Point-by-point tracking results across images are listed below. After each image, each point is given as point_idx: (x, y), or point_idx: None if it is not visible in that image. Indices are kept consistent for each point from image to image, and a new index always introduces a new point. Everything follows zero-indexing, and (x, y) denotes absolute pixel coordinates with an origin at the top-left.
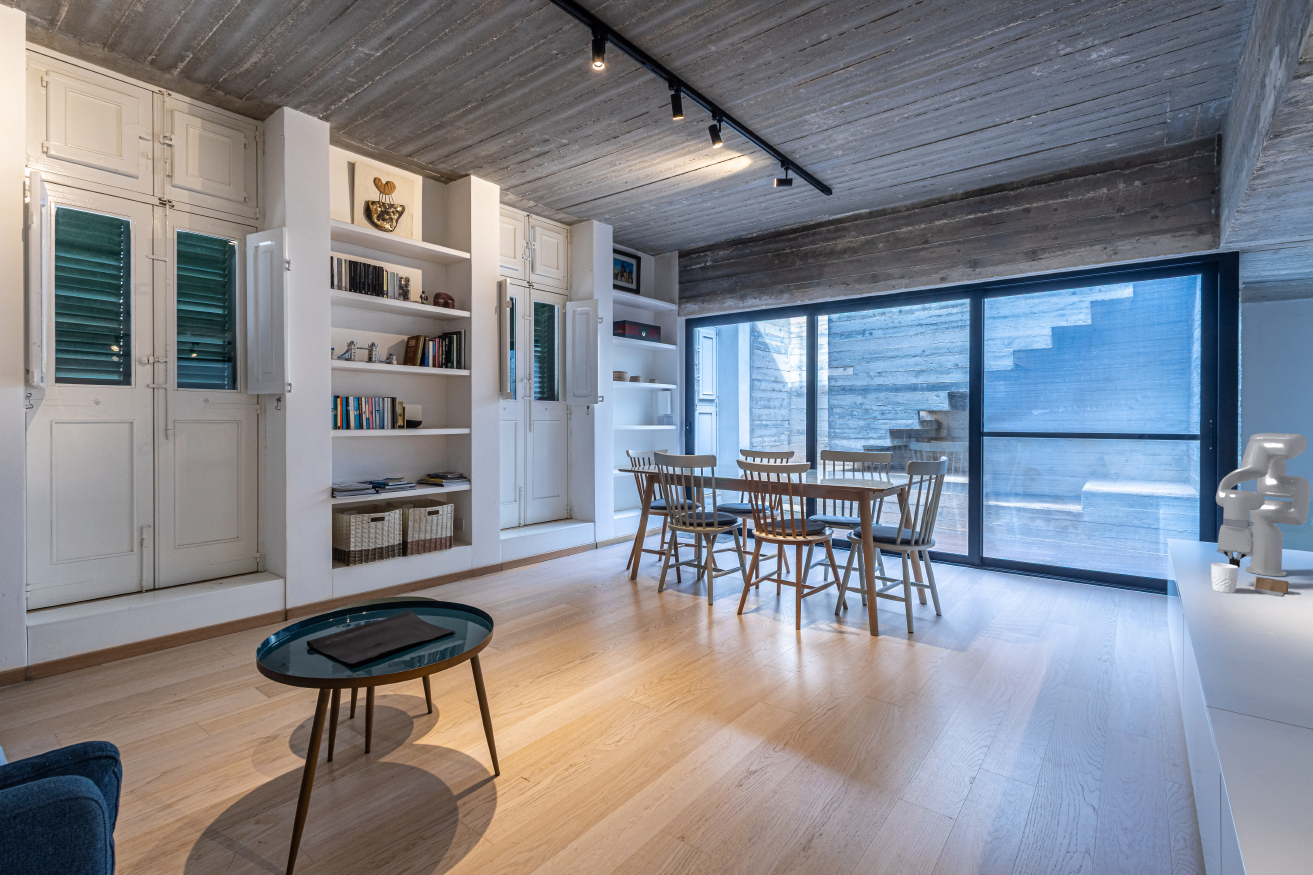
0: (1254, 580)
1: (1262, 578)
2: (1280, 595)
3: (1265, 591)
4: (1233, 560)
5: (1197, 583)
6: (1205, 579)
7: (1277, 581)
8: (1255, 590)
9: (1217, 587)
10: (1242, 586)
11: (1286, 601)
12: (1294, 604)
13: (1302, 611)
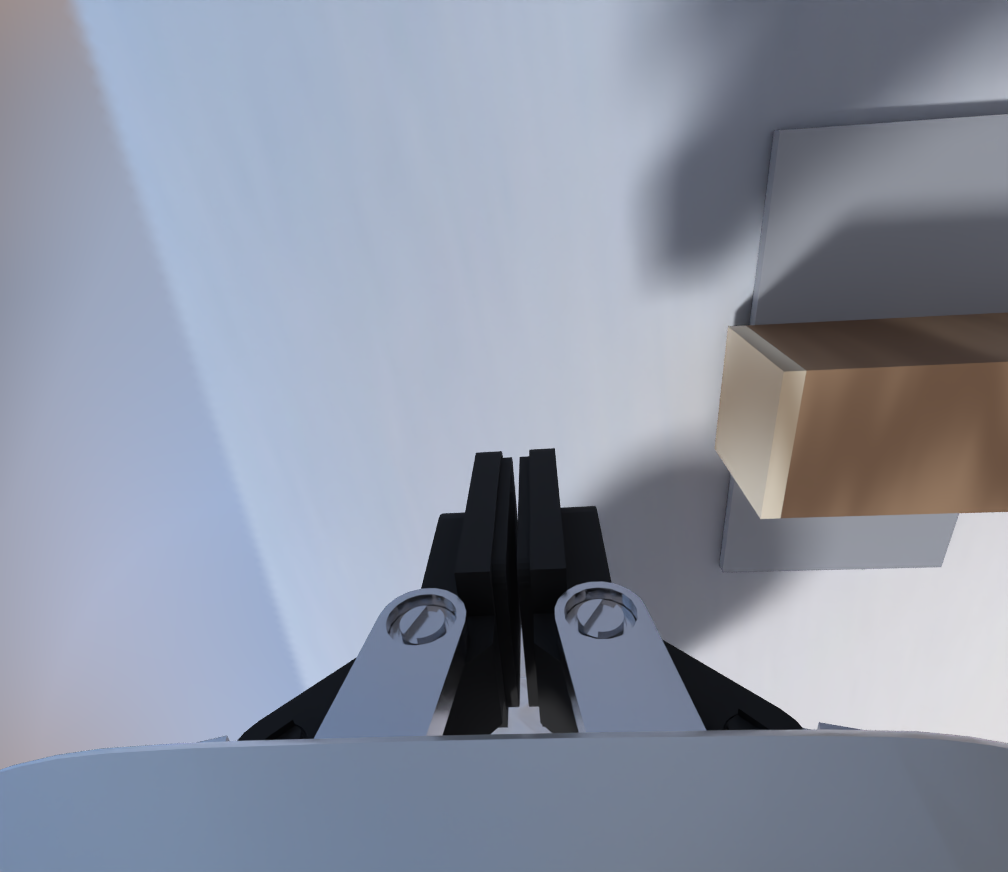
0: (750, 498)
1: (858, 452)
2: (928, 566)
3: None
4: (513, 701)
5: (279, 591)
6: (232, 343)
7: None
8: (729, 537)
9: None
10: (602, 393)
11: (936, 692)
12: (976, 736)
13: None
